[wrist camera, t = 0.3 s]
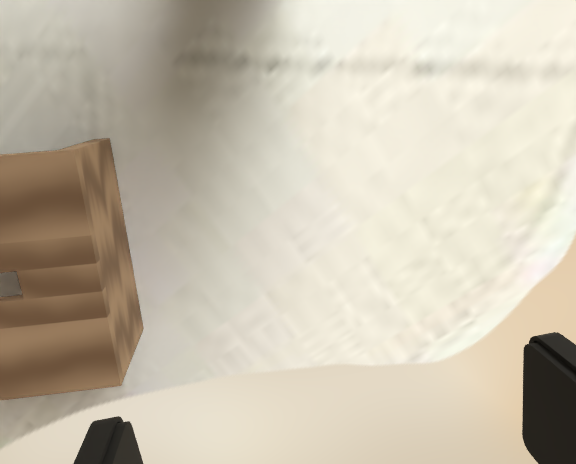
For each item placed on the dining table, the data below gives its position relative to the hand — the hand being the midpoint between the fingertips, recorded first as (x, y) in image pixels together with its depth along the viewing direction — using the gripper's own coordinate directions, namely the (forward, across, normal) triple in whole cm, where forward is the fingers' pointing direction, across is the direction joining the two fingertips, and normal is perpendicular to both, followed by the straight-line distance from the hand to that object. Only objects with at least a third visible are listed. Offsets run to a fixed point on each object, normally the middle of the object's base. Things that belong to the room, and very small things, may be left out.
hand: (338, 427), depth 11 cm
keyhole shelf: (+36, +25, +4) cm, 44 cm away
